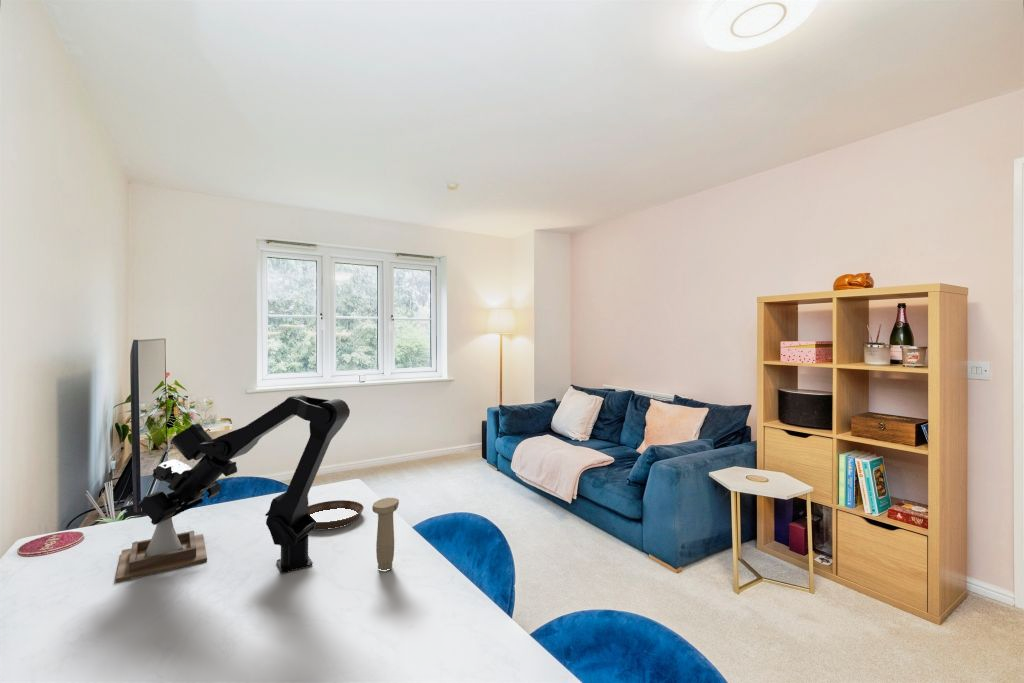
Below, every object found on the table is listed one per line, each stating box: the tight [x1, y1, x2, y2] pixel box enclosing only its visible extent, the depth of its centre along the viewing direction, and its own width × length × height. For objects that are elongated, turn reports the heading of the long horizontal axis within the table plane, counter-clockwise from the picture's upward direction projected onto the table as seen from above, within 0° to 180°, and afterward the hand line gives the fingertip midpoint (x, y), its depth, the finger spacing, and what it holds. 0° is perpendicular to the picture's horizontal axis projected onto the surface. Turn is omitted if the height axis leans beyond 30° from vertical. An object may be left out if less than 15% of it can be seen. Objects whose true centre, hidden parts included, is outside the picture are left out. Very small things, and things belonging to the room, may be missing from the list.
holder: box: [115, 530, 208, 583], centre depth 108 cm, size 16×16×3 cm
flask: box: [145, 517, 183, 557], centre depth 108 cm, size 7×7×10 cm
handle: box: [371, 497, 400, 570], centre depth 104 cm, size 5×6×15 cm
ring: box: [307, 499, 364, 530], centre depth 131 cm, size 18×18×3 cm
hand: (159, 520), depth 108 cm, fingers open, 3 cm apart
